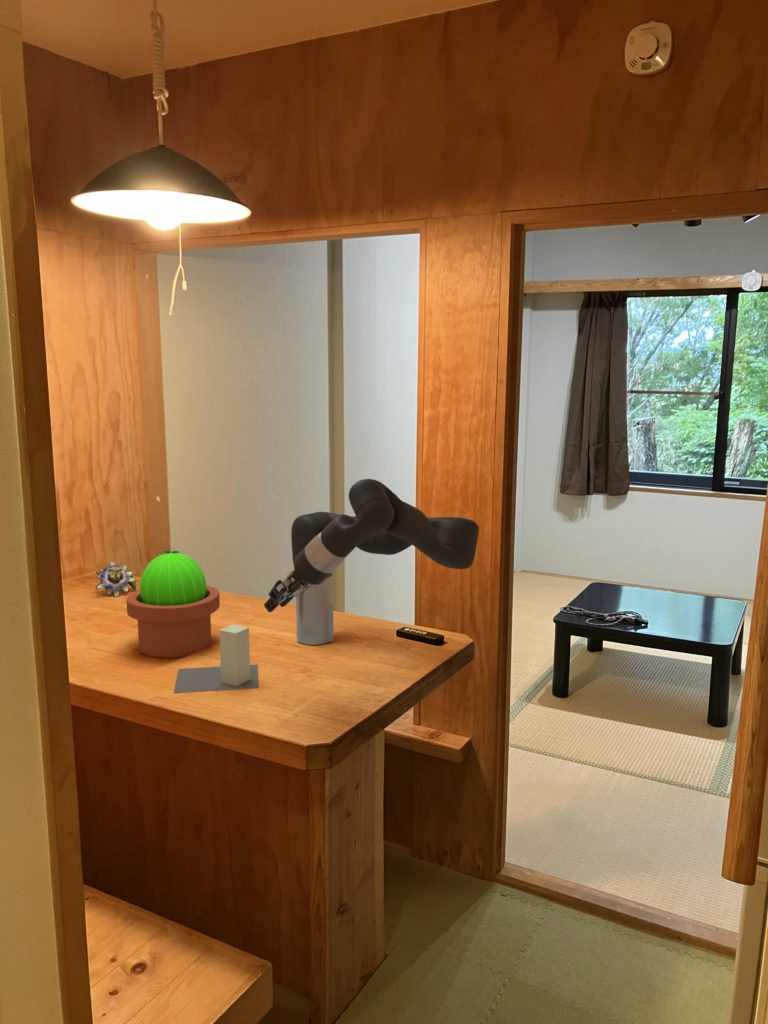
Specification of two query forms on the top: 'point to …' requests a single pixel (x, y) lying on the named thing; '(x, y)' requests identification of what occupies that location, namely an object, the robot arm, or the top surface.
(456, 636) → the top surface
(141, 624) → the potted cactus
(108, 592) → the passion flower
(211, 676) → the rubber mat
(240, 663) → the sage block
